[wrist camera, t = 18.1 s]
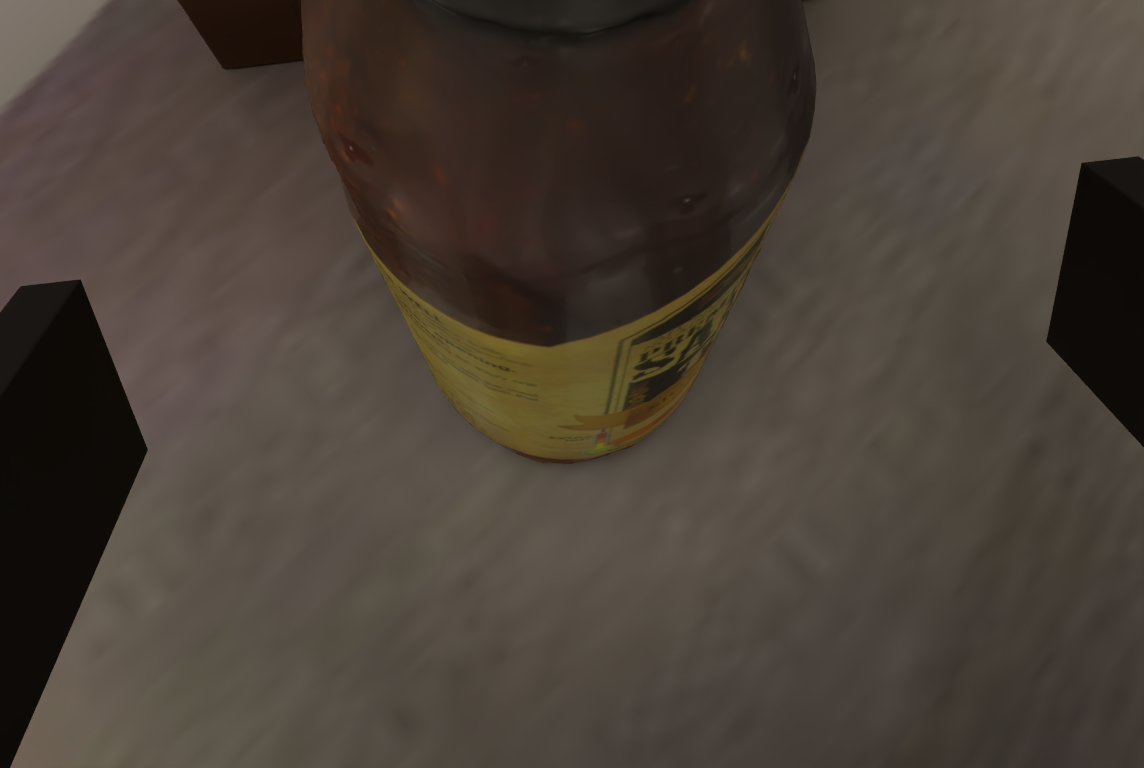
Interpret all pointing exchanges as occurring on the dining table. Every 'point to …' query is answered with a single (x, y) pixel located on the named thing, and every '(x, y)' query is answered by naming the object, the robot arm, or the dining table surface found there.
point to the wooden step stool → (248, 30)
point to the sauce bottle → (562, 190)
